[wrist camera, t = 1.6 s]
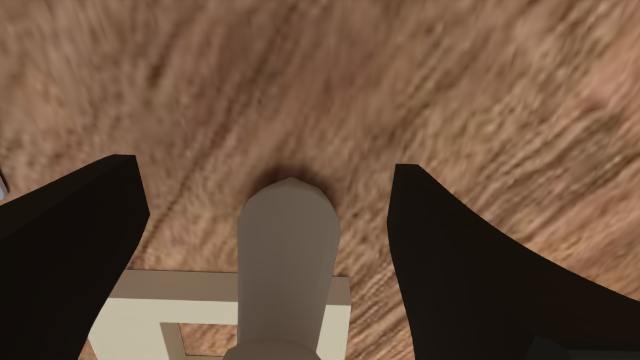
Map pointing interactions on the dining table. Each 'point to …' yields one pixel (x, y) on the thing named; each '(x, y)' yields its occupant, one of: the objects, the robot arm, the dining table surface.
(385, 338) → the dining table surface
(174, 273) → the socket block
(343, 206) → the dining table surface
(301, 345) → the salt shaker
